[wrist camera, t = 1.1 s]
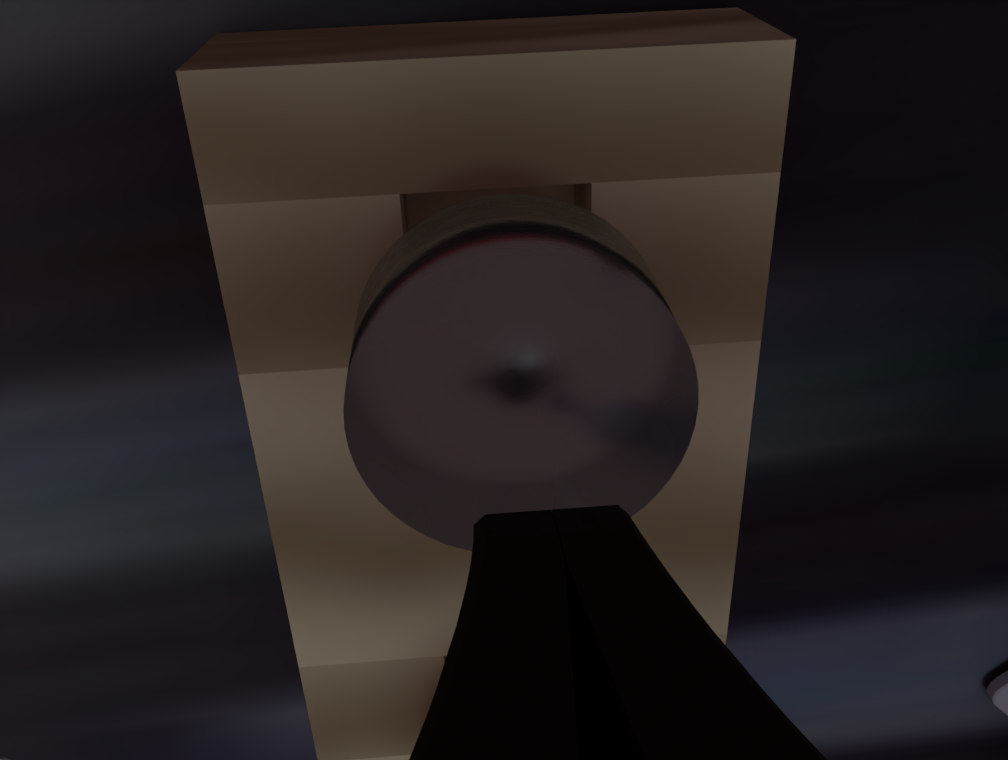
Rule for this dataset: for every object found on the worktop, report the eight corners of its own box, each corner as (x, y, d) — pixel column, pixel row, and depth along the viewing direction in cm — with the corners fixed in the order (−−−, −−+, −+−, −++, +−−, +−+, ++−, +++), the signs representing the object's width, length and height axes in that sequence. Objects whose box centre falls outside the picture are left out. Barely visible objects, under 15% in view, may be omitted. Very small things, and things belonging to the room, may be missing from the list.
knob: (347, 158, 14) (320, 264, 10) (641, 141, 14) (711, 240, 11) (378, 410, 16) (364, 567, 13) (631, 392, 16) (686, 543, 13)
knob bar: (217, 33, 16) (175, 71, 13) (737, 7, 16) (796, 39, 14) (379, 931, 29) (374, 1036, 27) (661, 904, 30) (683, 1006, 27)
